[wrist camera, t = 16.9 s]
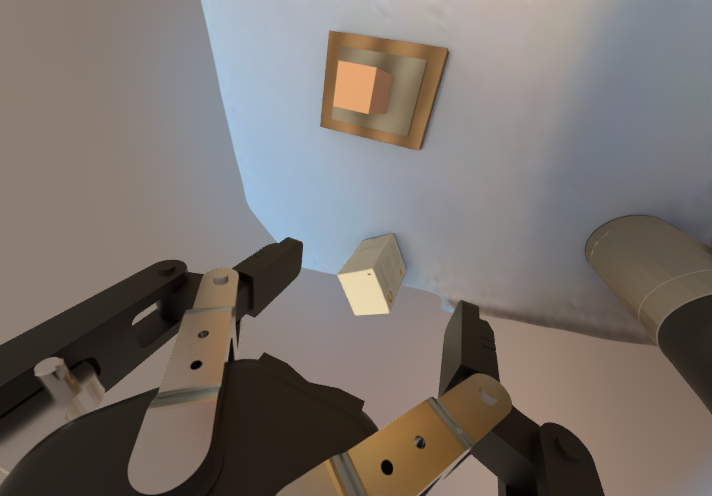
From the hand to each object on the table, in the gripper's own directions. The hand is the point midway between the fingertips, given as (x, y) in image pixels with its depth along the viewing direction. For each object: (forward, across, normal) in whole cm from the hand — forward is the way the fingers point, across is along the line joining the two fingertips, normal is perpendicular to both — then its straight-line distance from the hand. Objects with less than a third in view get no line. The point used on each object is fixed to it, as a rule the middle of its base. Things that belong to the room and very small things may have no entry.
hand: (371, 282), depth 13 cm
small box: (+33, +4, +18) cm, 38 cm away
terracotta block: (+30, +11, -8) cm, 33 cm away
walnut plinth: (+33, +11, -8) cm, 36 cm away
